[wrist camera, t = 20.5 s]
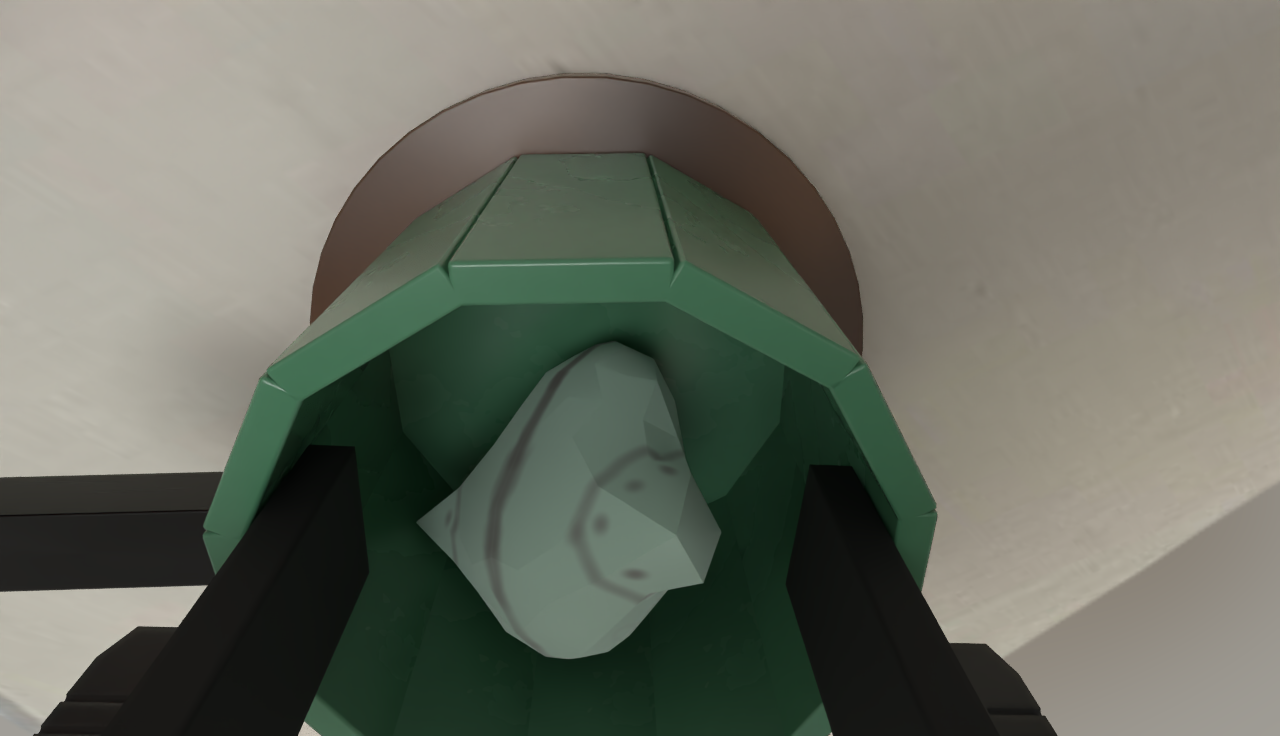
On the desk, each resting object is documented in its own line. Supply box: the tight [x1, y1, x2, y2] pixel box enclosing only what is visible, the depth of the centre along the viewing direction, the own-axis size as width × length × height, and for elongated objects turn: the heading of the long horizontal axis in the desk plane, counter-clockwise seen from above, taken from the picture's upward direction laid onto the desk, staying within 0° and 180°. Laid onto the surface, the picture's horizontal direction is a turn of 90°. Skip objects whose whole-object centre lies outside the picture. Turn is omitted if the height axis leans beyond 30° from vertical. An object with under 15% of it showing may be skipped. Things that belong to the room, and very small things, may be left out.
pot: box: [0, 153, 937, 736], centre depth 15 cm, size 11×17×8 cm, turn 90°
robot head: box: [416, 341, 721, 659], centre depth 15 cm, size 8×4×7 cm
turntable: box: [310, 73, 863, 357], centre depth 19 cm, size 14×14×1 cm
